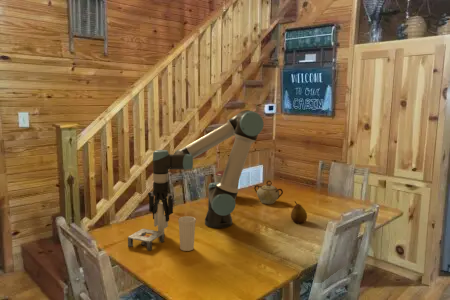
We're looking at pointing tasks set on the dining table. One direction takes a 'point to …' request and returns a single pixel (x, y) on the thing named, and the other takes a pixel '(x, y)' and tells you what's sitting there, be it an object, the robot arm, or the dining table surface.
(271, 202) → the sugar bowl
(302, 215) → the fruit
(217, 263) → the dining table surface
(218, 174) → the canister
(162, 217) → the beige rod
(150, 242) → the stand
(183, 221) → the cup
